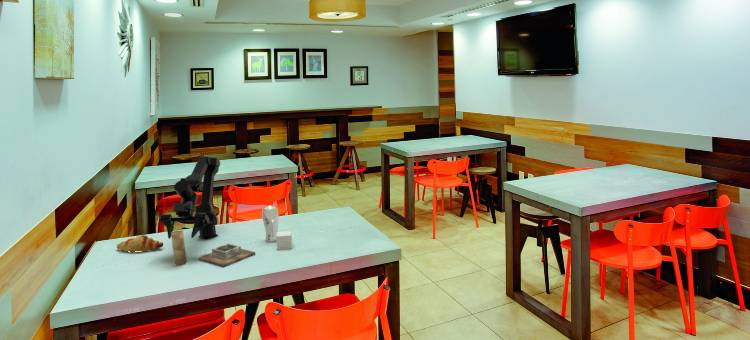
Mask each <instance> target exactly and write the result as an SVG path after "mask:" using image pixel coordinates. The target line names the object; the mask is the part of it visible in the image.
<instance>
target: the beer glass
mask: <svg viewBox="0 0 750 340" xmlns="http://www.w3.org/2000/svg"><path fill="white" fill-rule="evenodd" d="M261 212H262V215H261V216H262V223H263V227H264V230H265V242H266V243H267V242H269V243H272V242H277V239H276V236H277V232H279V231H278V230H279V229H278V228H279V226H278V225H279V211H278V206H277V205H267V206H263V207H262V211H261Z"/></svg>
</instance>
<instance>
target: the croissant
mask: <svg viewBox="0 0 750 340" xmlns="http://www.w3.org/2000/svg"><path fill="white" fill-rule="evenodd" d="M163 247H164V242H163V241H161V242H160V241H159V240H154V239H153V238H152V237H149V236H147V235H145V234H141V235H139V236H136V237H133V238H128V239H127V240H125V241H121V242H119V243H118V244H116V249H118V250H119V249H120V250H119V251H121V250H124V251H130V252H135V251H146V252H149V251H148V250H153V251H156V250H155V249H157V250H160V249H161V248H163ZM124 251H123V252H124Z"/></svg>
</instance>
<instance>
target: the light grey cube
mask: <svg viewBox="0 0 750 340" xmlns="http://www.w3.org/2000/svg"><path fill="white" fill-rule="evenodd" d="M292 237H293V236H292V230H289V231H286V230H285V231H278V232H277V236H276V239H277V241H276V250H279V251H281V250H289V249H290V250H292V248H293V240H292Z"/></svg>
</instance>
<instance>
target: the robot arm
mask: <svg viewBox="0 0 750 340" xmlns="http://www.w3.org/2000/svg"><path fill="white" fill-rule="evenodd" d="M196 159H197V161H196V163H195V165H194V168H193V169H192V172H191V174H189V175H187V176H186V177H184V178H183V177H181V178H180V180H178V181H176V183H175V184H174V186H173V189H174V191H175V192H176V193H177V195H178V196H179V198H180V199H181V201H180V202H177V203H176V202H174V203H173V207H172V209H173V210H172V212H175V216H172V214H171V213H162V214H161V215H159V222H161V224H162V225H163V226H164V227H166V230H167V231H166V232H167V233H166V234H167V238H168V239H169V240H171V239H172V237H171V232H174V229H175V226H174V225H175V223H176V222H178V223H179V222H181V223H182V222H193V227H192V229H191V230H192V231H191V234H190V235H191V236H190V238H191V239H193V238H194V237H195V236H196V235H197V234H198V233H199V236H198V238H200V239H204V240H209V239H212V238H215V237H218V236H219V234H217V231H216V225H218V223H219V221H218V216H217V215H216V213H215V209H214V208H213V205H212V201H213V194H214V193H213V191H214V182H215V176H216V175H217V174H218V172H219V171H220V166H221V161H220V159H218V158H217V157H211V156H208V155H207V156H206V155H205V156H203V155H202V156H198V157H197V158H196ZM199 192H201V199H200V203H199V204H197V201H199V197H198V194H197V193H199ZM196 204H197V205H196Z"/></svg>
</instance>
